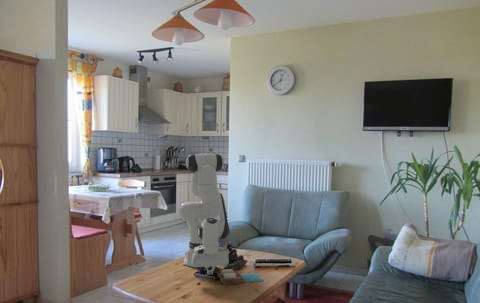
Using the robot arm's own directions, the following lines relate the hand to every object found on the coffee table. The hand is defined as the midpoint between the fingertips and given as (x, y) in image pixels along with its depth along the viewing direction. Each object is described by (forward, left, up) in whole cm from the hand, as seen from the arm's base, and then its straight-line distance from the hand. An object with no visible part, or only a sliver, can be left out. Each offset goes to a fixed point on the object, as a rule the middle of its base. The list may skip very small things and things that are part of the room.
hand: (210, 274), depth 205 cm
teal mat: (-1, +24, -4) cm, 24 cm away
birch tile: (0, +10, -2) cm, 11 cm away
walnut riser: (0, +11, -4) cm, 12 cm away
